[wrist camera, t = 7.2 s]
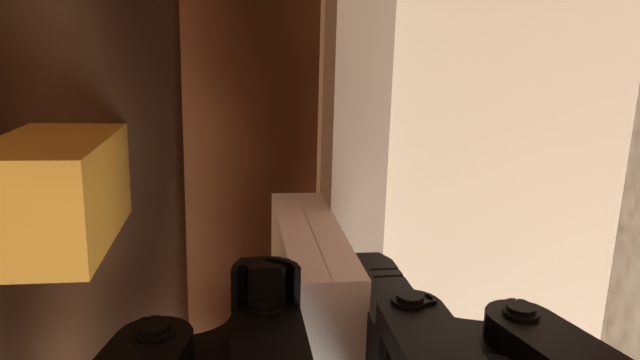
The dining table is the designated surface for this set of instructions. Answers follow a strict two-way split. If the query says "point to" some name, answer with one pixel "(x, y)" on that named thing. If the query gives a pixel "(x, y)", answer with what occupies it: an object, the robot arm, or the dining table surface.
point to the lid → (481, 143)
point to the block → (61, 199)
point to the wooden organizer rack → (164, 149)
